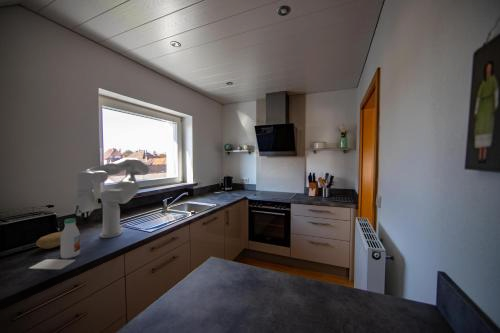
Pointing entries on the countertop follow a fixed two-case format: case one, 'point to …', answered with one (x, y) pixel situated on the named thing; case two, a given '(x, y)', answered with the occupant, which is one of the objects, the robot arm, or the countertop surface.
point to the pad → (52, 264)
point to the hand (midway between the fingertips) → (85, 223)
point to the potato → (49, 241)
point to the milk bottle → (70, 239)
